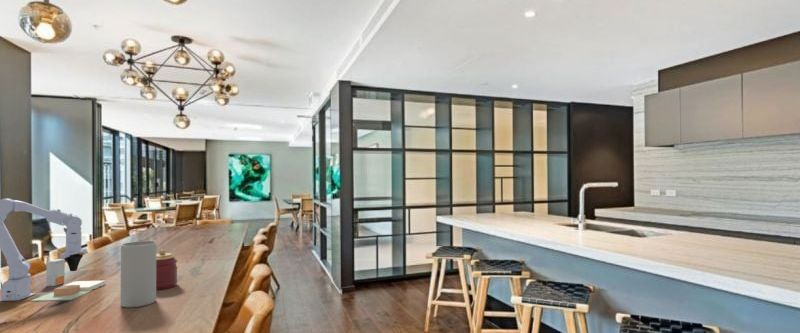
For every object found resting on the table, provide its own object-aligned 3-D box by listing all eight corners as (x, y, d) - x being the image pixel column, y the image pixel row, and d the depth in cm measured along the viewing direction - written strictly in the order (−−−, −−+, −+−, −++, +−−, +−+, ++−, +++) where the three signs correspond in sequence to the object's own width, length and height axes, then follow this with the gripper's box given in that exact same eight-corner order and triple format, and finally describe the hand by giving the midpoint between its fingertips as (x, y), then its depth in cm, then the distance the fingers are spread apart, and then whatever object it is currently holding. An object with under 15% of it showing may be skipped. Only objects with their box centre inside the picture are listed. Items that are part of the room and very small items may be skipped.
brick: (71, 295, 180) (71, 288, 180) (53, 296, 179) (53, 289, 179) (79, 291, 186) (79, 284, 186) (62, 292, 185) (62, 285, 185)
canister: (183, 283, 201) (183, 247, 201) (165, 290, 188) (165, 252, 188) (158, 282, 202) (158, 247, 202) (139, 290, 189) (139, 252, 189)
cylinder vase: (138, 309, 162) (139, 246, 162) (112, 307, 164) (113, 245, 165) (163, 299, 174) (163, 241, 174) (138, 298, 176) (138, 240, 177)
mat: (70, 300, 174) (70, 299, 174) (30, 301, 173) (30, 300, 173) (91, 291, 187) (91, 290, 187) (54, 292, 186) (54, 291, 186)
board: (88, 291, 187) (88, 287, 187) (56, 292, 186) (56, 288, 186) (105, 284, 199) (105, 280, 199) (75, 285, 198) (75, 281, 198)
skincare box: (54, 286, 197) (54, 261, 197) (45, 286, 197) (46, 261, 197) (65, 282, 203) (65, 258, 203) (56, 282, 203) (56, 258, 203)
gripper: (71, 244, 184) (70, 274, 183) (93, 239, 198) (93, 267, 198) (54, 244, 183) (54, 274, 183) (78, 239, 198) (77, 267, 197)
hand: (73, 270), depth 190 cm, fingers closed
